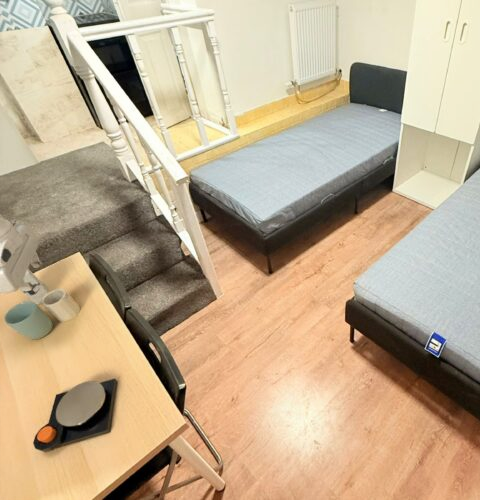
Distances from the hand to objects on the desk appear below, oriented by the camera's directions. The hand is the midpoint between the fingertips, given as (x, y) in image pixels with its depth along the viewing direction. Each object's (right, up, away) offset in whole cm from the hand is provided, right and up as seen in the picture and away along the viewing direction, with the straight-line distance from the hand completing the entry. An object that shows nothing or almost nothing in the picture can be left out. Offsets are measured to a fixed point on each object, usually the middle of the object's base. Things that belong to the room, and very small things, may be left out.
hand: (34, 277), depth 93 cm
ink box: (-13, -7, +18) cm, 23 cm away
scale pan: (+22, -30, -12) cm, 39 cm away
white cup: (+1, -12, +12) cm, 17 cm away
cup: (-4, -17, +8) cm, 19 cm away
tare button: (+17, -35, -16) cm, 42 cm away
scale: (+21, -33, -10) cm, 40 cm away
